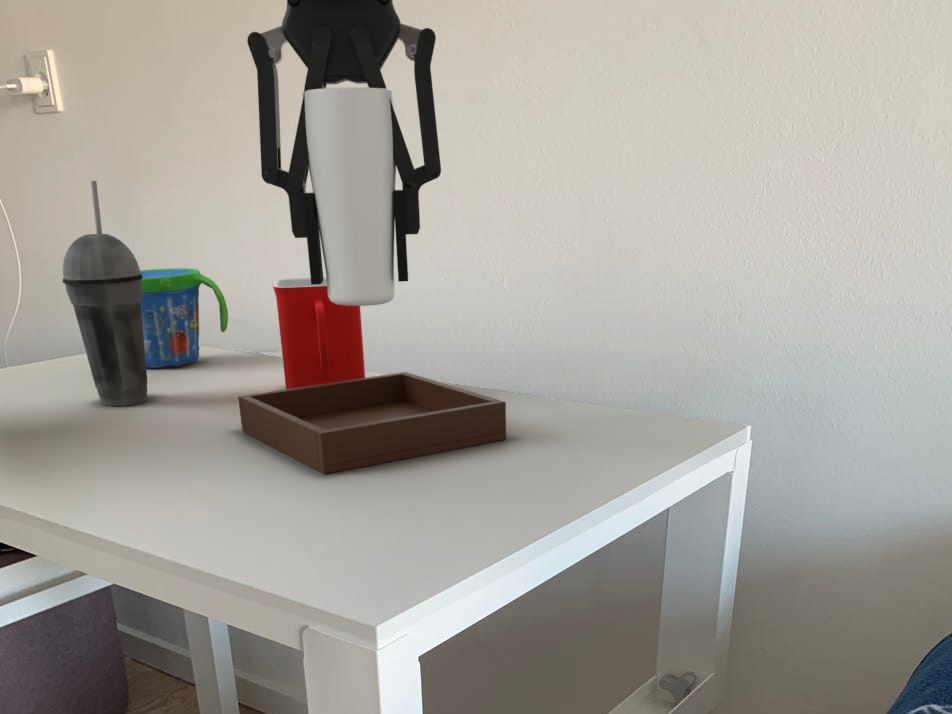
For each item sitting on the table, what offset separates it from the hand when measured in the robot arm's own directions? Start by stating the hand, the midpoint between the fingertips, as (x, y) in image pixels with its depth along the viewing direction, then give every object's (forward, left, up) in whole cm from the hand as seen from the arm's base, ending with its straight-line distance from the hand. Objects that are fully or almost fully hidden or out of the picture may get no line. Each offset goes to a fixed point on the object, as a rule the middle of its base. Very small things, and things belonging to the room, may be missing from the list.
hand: (360, 280), depth 80 cm
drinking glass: (0, 0, -2) cm, 2 cm away
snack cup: (-46, -3, -13) cm, 48 cm away
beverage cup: (-28, -13, -13) cm, 33 cm away
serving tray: (0, 0, -13) cm, 13 cm away
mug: (-17, +4, -13) cm, 22 cm away
